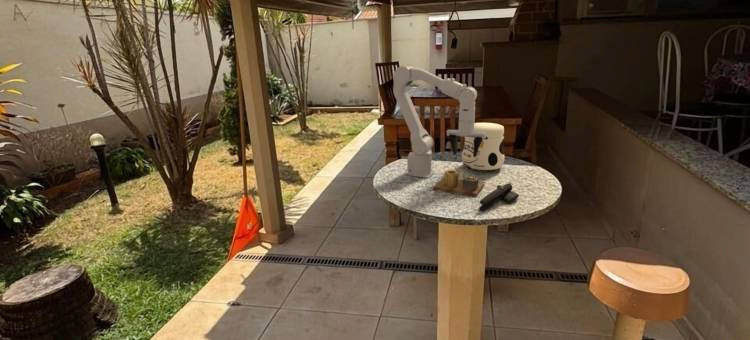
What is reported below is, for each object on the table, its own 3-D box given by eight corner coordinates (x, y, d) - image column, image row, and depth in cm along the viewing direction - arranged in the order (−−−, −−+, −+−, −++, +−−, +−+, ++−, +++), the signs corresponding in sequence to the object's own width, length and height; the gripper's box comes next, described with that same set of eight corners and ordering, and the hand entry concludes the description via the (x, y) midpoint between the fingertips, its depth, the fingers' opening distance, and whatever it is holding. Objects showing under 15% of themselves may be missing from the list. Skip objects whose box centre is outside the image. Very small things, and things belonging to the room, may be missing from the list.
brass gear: (455, 188, 140) (455, 175, 138) (442, 186, 142) (442, 173, 141) (460, 183, 144) (460, 171, 142) (447, 181, 146) (447, 169, 145)
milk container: (455, 170, 162) (457, 128, 156) (469, 159, 176) (471, 120, 170) (497, 177, 153) (500, 132, 148) (507, 165, 167) (511, 124, 161)
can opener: (503, 194, 137) (504, 179, 135) (520, 200, 132) (522, 184, 130) (470, 208, 127) (471, 192, 125) (488, 215, 121) (489, 198, 120)
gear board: (433, 189, 142) (433, 176, 141) (443, 180, 151) (443, 167, 150) (476, 196, 135) (477, 182, 133) (484, 186, 144) (485, 173, 142)
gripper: (444, 120, 144) (443, 155, 149) (483, 123, 138) (481, 160, 142) (450, 117, 150) (449, 151, 155) (488, 120, 144) (485, 155, 148)
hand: (465, 155), depth 149 cm, fingers open, 7 cm apart
